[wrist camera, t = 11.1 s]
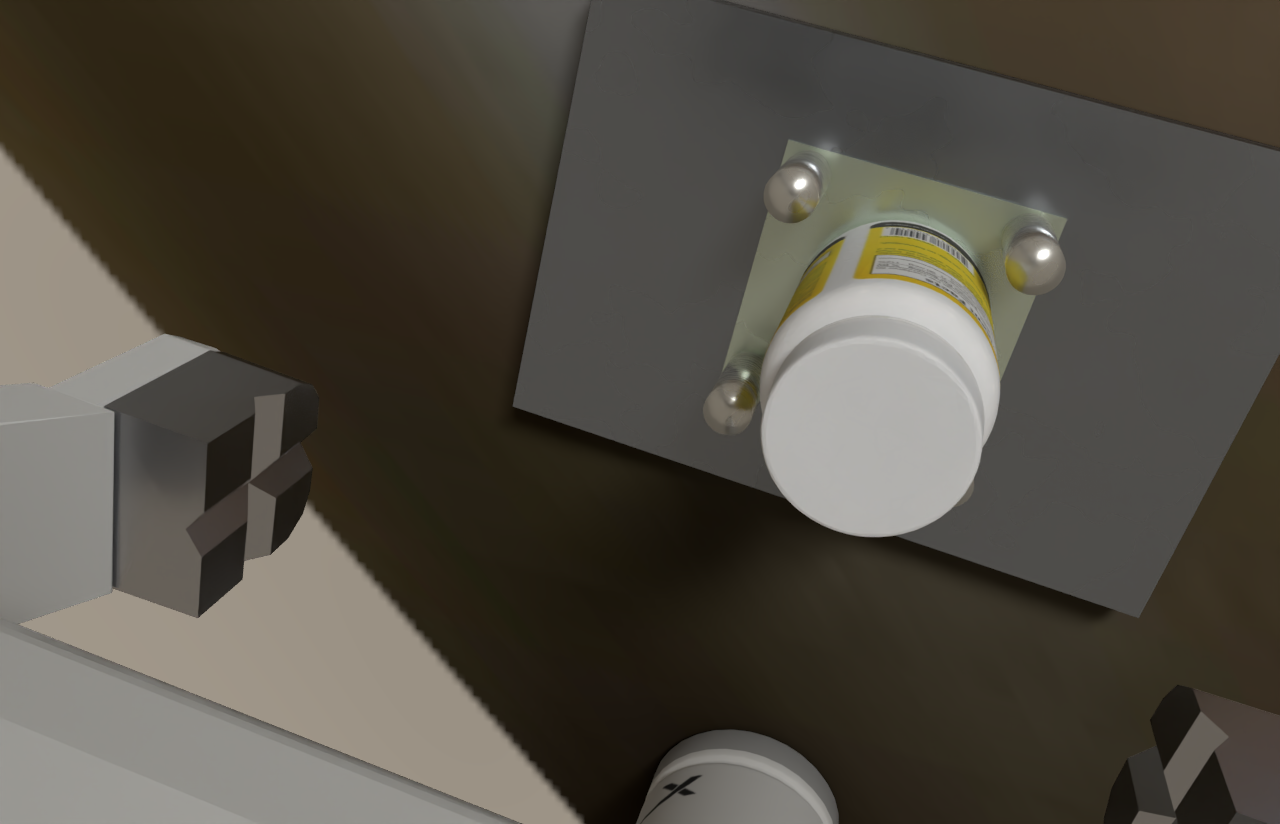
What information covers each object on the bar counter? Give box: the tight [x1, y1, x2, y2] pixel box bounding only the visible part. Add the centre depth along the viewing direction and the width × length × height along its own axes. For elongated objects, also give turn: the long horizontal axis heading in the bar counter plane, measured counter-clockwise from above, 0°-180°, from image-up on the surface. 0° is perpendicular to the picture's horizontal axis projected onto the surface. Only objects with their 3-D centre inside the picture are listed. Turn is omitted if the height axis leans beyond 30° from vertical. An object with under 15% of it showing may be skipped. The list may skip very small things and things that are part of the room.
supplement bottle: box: [760, 220, 1000, 537], centre depth 23 cm, size 5×5×8 cm
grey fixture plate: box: [513, 0, 1280, 618], centre depth 26 cm, size 18×12×4 cm, turn 76°
